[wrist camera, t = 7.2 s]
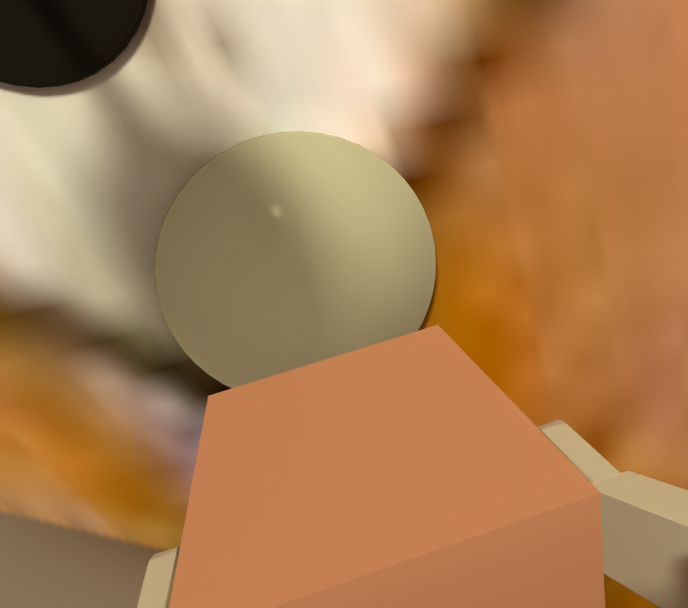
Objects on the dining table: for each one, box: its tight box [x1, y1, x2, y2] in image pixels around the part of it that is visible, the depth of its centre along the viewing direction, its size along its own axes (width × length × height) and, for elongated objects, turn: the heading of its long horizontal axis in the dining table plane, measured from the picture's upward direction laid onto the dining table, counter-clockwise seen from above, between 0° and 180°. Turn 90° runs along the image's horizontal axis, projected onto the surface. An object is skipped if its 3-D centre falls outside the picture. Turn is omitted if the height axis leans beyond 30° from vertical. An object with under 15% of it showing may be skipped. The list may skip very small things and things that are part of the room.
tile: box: [155, 131, 436, 388], centre depth 23 cm, size 14×14×1 cm
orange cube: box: [169, 325, 605, 608], centre depth 8 cm, size 5×5×5 cm
